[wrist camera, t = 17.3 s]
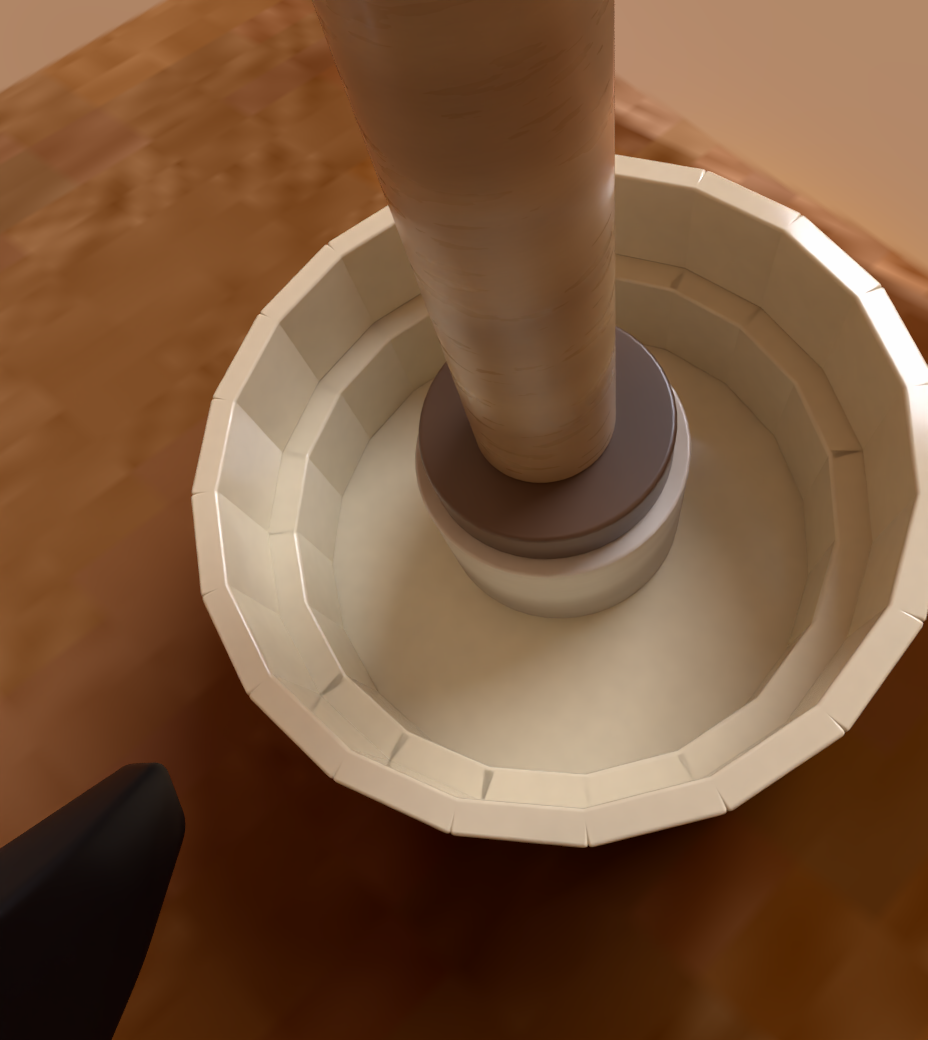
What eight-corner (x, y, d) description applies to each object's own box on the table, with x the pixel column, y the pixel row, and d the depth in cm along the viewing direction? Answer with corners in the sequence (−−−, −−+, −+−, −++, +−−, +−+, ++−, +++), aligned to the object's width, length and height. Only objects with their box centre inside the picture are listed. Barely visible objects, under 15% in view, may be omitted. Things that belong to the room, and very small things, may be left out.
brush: (671, 632, 15) (853, 2, 4) (429, 605, 17) (-54, 57, 5) (685, 409, 17) (844, -534, 5) (465, 399, 18) (175, -399, 6)
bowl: (972, 489, 16) (1114, 356, 11) (615, 983, 14) (614, 1064, 9) (521, 238, 20) (492, 69, 16) (201, 589, 18) (62, 513, 14)
